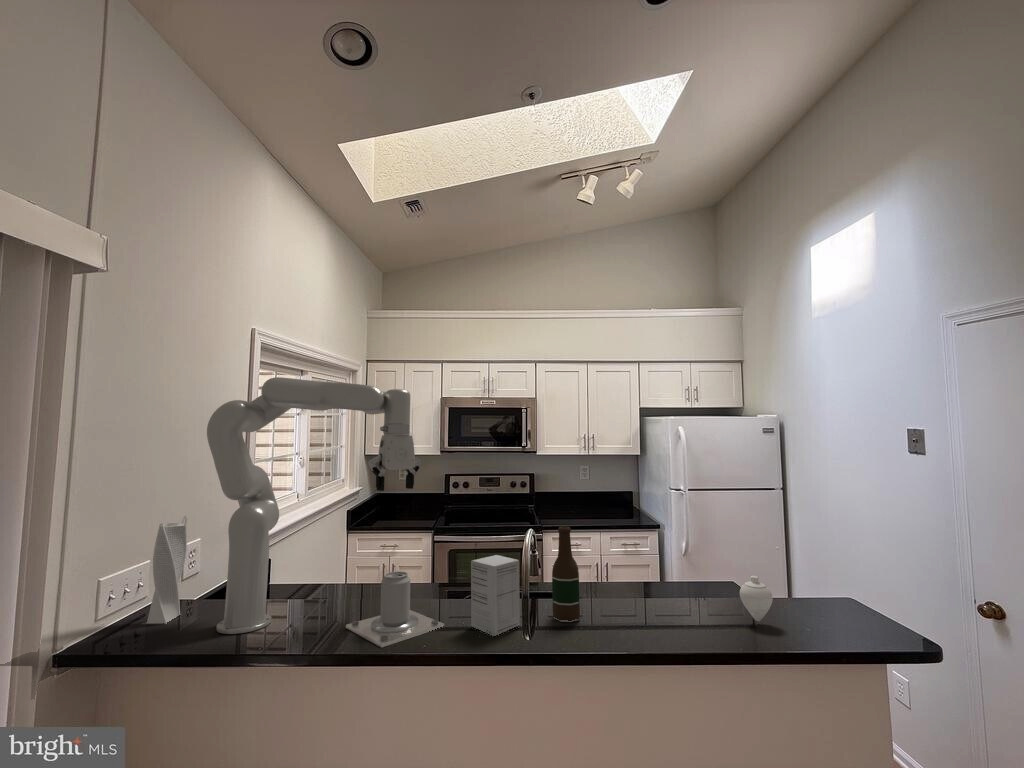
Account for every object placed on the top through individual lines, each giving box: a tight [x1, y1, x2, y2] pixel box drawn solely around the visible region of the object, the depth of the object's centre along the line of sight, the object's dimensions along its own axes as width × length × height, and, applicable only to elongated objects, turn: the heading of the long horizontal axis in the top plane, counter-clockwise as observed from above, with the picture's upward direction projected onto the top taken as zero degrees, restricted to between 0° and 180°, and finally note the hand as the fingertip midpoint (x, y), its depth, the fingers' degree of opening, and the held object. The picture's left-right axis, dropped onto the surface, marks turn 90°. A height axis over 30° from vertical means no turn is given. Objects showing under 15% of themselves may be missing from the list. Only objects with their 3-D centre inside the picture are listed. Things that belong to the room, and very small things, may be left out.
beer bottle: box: [551, 525, 581, 621], centre depth 128 cm, size 8×8×24 cm
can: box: [379, 570, 411, 626], centre depth 122 cm, size 8×8×12 cm
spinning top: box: [739, 575, 774, 622], centre depth 121 cm, size 8×8×12 cm
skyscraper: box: [141, 515, 188, 625], centre depth 130 cm, size 8×8×28 cm
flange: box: [345, 609, 445, 648], centre depth 121 cm, size 18×18×2 cm
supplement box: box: [470, 554, 521, 637], centre depth 122 cm, size 10×9×17 cm
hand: (395, 489), depth 137 cm, fingers open, 9 cm apart
